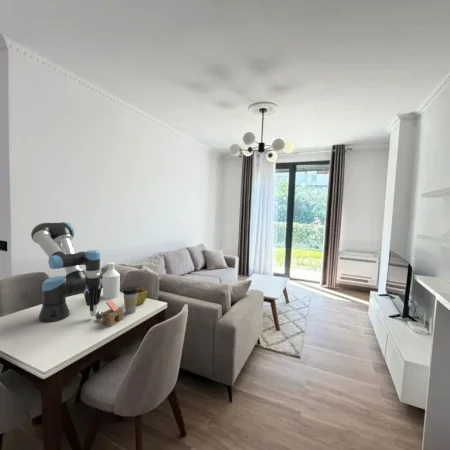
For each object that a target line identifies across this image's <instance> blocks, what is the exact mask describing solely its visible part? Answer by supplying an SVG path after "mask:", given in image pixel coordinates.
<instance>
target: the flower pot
mask: <svg viewBox="0 0 450 450" xmlns="http://www.w3.org/2000/svg"><path fill="white" fill-rule="evenodd" d="M137 289H138V291H139V292H138V294H137V296H138V297H137V304H136V306H139V305H143V304H144V303H145V302H146V299H147V295H148V290H147V289H144V288H137Z"/></svg>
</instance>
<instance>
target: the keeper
mask: <svg viewBox="0 0 450 450" xmlns="http://www.w3.org/2000/svg"><path fill="white" fill-rule="evenodd" d="M105 304H106V305H107V306H108V307H109V309H111V310H112V311H113V312H115V311H116V310H118V309H119V308H118V307H119V306H118V305H116V303H115V302H114V301H113V300H112V299H109V300H108V301H106V302H105Z"/></svg>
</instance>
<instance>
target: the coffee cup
mask: <svg viewBox="0 0 450 450" xmlns="http://www.w3.org/2000/svg"><path fill="white" fill-rule="evenodd" d="M138 289H139V288H137V287H135V286H130V287H129V286H128V287H125V288H124V289H123V291H122V294H123V300H124V301H123V303H124V307H125V313H126V314H127V315H128V314H129V315H131V314H134V313H136V310H137V305H136V304H137V297H138V296H137V294H138V292H139V291H138Z"/></svg>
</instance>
